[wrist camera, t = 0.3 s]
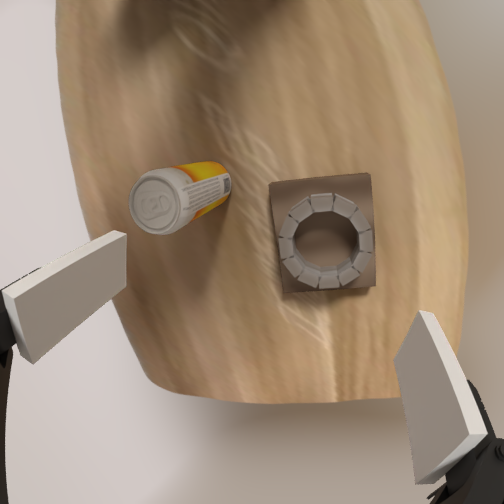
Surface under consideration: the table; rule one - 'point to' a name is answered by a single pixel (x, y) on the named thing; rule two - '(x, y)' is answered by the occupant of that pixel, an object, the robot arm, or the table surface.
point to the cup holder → (325, 232)
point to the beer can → (177, 195)
